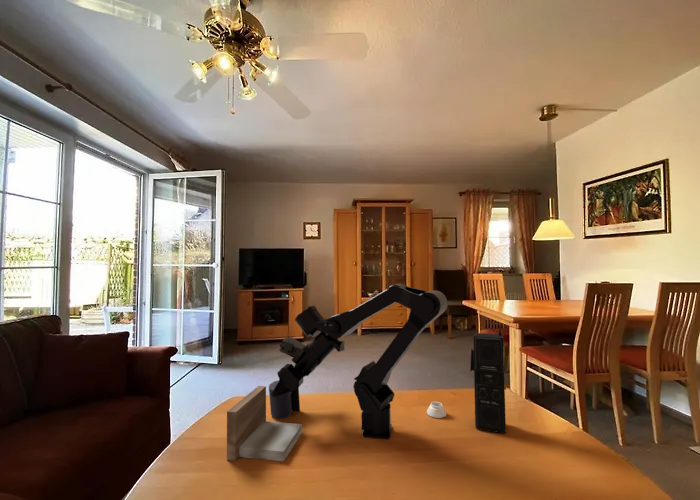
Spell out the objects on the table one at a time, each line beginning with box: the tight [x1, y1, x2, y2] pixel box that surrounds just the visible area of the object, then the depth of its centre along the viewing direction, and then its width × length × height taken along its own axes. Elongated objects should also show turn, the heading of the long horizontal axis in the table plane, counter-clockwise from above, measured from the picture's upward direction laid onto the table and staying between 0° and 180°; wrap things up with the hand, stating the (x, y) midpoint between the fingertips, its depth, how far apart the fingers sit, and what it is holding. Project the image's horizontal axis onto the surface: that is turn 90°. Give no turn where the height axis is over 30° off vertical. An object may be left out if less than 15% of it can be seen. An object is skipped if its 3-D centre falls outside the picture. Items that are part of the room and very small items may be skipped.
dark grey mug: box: [268, 379, 301, 420], centre depth 92 cm, size 8×6×10 cm
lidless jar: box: [426, 401, 447, 419], centre depth 91 cm, size 5×3×5 cm
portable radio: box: [469, 325, 507, 434], centre depth 85 cm, size 8×6×25 cm
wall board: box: [226, 385, 303, 462], centre depth 77 cm, size 12×15×10 cm
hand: (279, 389), depth 92 cm, fingers open, 9 cm apart
